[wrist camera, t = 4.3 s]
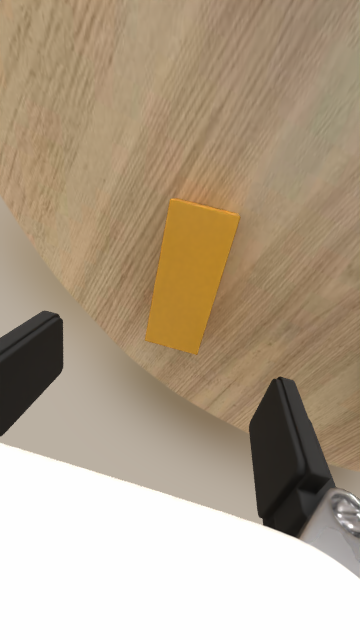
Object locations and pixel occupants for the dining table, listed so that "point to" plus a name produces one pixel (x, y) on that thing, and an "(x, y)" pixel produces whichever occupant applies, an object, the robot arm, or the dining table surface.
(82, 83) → the dining table surface
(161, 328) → the block
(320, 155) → the dining table surface
